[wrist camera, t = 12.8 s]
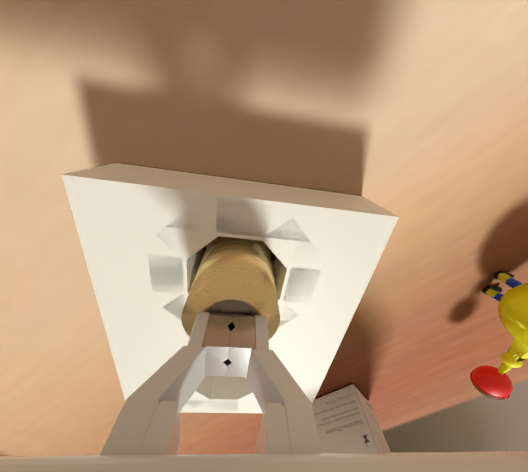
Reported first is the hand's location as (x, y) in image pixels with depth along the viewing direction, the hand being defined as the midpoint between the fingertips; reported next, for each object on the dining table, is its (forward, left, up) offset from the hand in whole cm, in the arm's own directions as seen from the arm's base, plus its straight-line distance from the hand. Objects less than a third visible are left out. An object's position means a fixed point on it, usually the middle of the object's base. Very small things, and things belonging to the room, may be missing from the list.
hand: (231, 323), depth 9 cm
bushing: (0, 0, -7) cm, 7 cm away
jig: (-5, 0, -7) cm, 9 cm away
